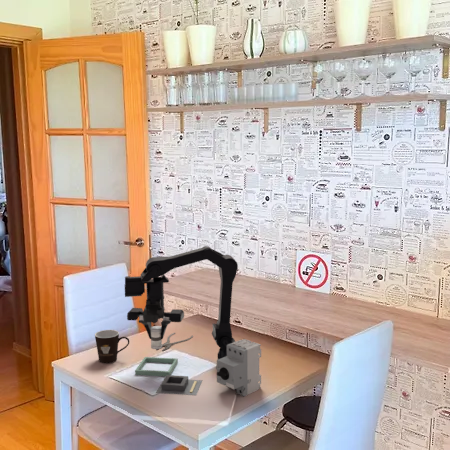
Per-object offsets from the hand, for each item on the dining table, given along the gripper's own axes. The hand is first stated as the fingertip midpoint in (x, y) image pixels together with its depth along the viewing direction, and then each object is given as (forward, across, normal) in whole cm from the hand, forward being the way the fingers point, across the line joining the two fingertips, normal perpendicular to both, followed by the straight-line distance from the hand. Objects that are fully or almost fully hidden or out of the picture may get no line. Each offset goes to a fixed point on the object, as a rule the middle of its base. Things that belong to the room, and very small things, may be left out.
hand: (156, 338), depth 198 cm
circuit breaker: (+12, +30, -12) cm, 34 cm away
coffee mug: (+12, -19, +7) cm, 24 cm away
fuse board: (+12, +11, -13) cm, 21 cm away
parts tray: (+12, 0, 0) cm, 12 cm away
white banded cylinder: (+3, 0, 0) cm, 3 cm away
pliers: (+12, 0, +28) cm, 31 cm away
